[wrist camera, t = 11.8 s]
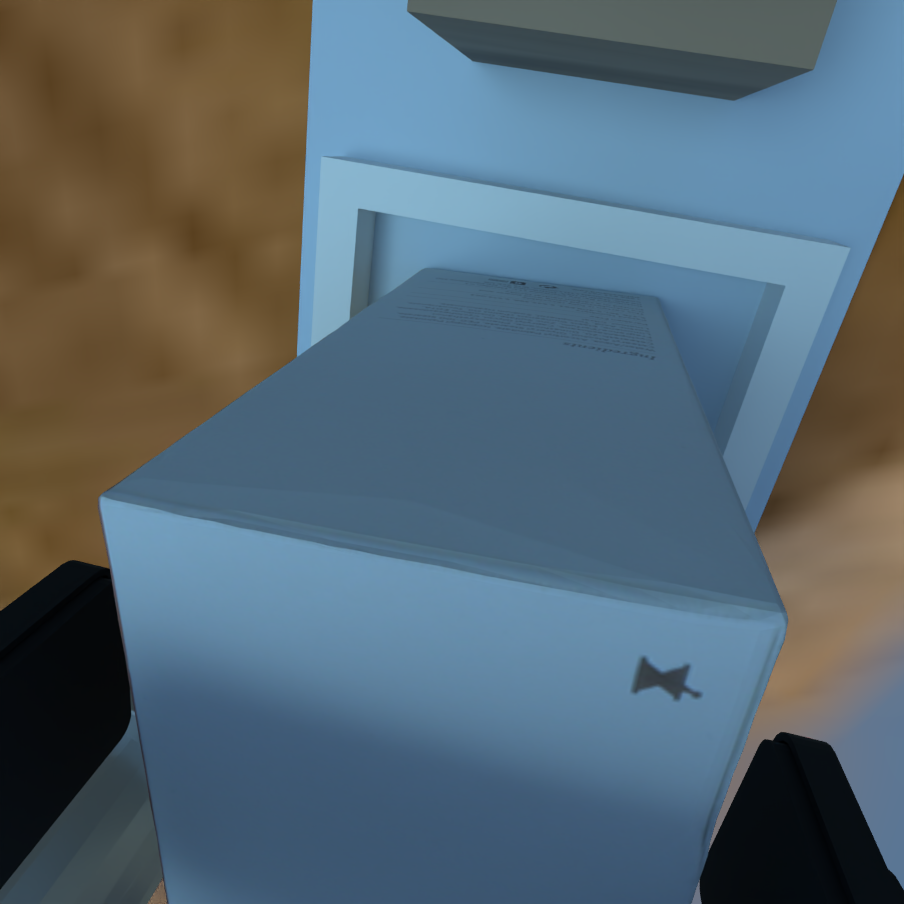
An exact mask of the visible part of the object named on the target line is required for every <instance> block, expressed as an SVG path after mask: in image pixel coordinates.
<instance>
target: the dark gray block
mask: <svg viewBox="0 0 904 904" xmlns="http://www.w3.org/2000/svg"><path fill="white" fill-rule="evenodd" d="M836 2H837V0H408V4H407V12H409V13H410V14H411V15H412V16H414V17H415V18H416V19H418V20H419V21H420V22H422V23H423V24H424V25H426V26H427V27H428V28H430V29H431V30H432V31H434V32H435V33H436V34H437V35H439V36H440V37H441V38H443V39H444V40H445V41H447V42H448V43H449V44H451V45H452V46H453V47H455V48H456V49H457V50H459V51H460V52H461V53H462V54H464V55H465V56H466V57H468V58H469V59H470V60H472V61H474V62H480V63H487V64H494V65H500V66H507V67H513V68H520V69H527V70H533V71H540V72H547V73H553V74H560V75H566V76H573V77H580V78H586V79H593V80H600V81H606V82H613V83H619V84H626V85H633V86H639V87H646V88H652V89H659V90H666V91H672V92H679V93H686V94H692V95H699V96H705V97H712V98H719V99H725V100H732V101H735V100H737V99H740V98H742V97H745V96H748V95H750V94H753V93H755V92H758V91H760V90H763V89H766V88H768V87H771V86H773V85H776V84H778V83H781V82H783V81H786V80H789V79H791V78H794V77H796V76H799V75H801V74H804V73H807V72H809V71H812V70H814V67H815V65H816V62H817V59H818V56H819V53H820V50H821V47H822V44H823V41H824V38H825V35H826V32H827V29H828V26H829V23H830V20H831V17H832V14H833V11H834V8H835V5H836Z"/></svg>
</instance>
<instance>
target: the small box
mask: <svg viewBox="0 0 904 904" xmlns="http://www.w3.org/2000/svg"><path fill="white" fill-rule="evenodd" d="M98 510H99V515H100V520H101V525H102V530H103V535H104V540H105V545H106V550H107V556H108V561H109V566H110V572H111V578H112V585H113V591H114V597H115V603H116V609H117V615H118V621H119V627H120V632H121V637H122V643H123V648H124V653H125V659H126V666H127V672H128V679H129V685H130V690H131V696H132V701H133V706H134V712H135V717H136V723H137V728H138V734H139V740H140V746H141V752H142V758H143V764H144V769H145V775H146V781H147V787H148V793H149V800H150V805H151V811H152V816H153V821H154V826H155V831H156V836H157V842H158V850H159V857H160V863H161V869H162V874H163V880H164V886H165V892H166V898H167V904H691V903H692V900H693V897H694V893H695V890H696V887H697V884H698V882H699V879H700V876H701V874H702V871H703V868H704V865H705V862H706V859H707V856H708V850H709V845H710V840H711V837H712V834H713V830H714V827H715V823H716V820H717V817H718V815H719V812H720V809H721V806H722V804H723V802H724V799H725V796H726V793H727V790H728V788H729V785H730V782H731V779H732V776H733V773H734V771H735V768H736V766H737V764H738V761H739V759H740V756H741V754H742V751H743V749H744V746H745V743H746V740H747V737H748V734H749V731H750V728H751V725H752V722H753V719H754V716H755V713H756V711H757V708H758V706H759V703H760V701H761V698H762V696H763V694H764V691H765V689H766V686H767V683H768V681H769V678H770V675H771V673H772V670H773V667H774V664H775V662H776V659H777V657H778V654H779V652H780V650H781V647H782V645H783V642H784V640H785V635H786V629H787V624H788V617H787V613H786V610H785V608H784V605H783V603H782V600H781V598H780V595H779V593H778V591H777V588H776V586H775V583H774V581H773V578H772V576H771V574H770V571H769V569H768V566H767V564H766V561H765V559H764V556H763V554H762V551H761V549H760V546H759V544H758V542H757V539H756V537H755V534H754V532H753V529H752V527H751V525H750V522H749V520H748V517H747V515H746V512H745V510H744V508H743V505H742V503H741V500H740V498H739V495H738V493H737V491H736V488H735V486H734V483H733V481H732V478H731V476H730V473H729V471H728V469H727V466H726V464H725V461H724V459H723V456H722V454H721V451H720V449H719V446H718V444H717V441H716V439H715V437H714V434H713V432H712V429H711V427H710V424H709V422H708V420H707V417H706V415H705V412H704V410H703V407H702V405H701V403H700V400H699V398H698V395H697V393H696V390H695V387H694V385H693V382H692V380H691V378H690V376H689V374H688V371H687V369H686V366H685V364H684V362H683V359H682V357H681V354H680V352H679V350H678V347H677V345H676V342H675V340H674V337H673V335H672V332H671V329H670V327H669V323H668V320H667V318H666V316H665V314H664V311H663V308H662V306H661V302H660V300H659V298H657V297H652V296H644V295H634V294H628V293H619V292H610V291H602V290H595V289H588V288H578V287H570V286H562V285H553V284H546V283H538V282H531V281H523V280H515V279H508V278H500V277H493V276H486V275H478V274H471V273H463V272H455V271H447V270H440V269H432V268H424V269H422V270H420V271H419V272H418V273H416V274H415V275H413V276H412V277H411V278H409V279H408V280H406V281H405V282H403V283H402V284H401V285H399V286H398V287H396V288H395V289H394V290H392V291H391V292H389V293H387V294H386V295H384V296H383V297H381V298H380V299H378V300H377V301H375V302H374V303H372V304H371V305H370V306H368V307H367V308H365V309H364V310H362V311H361V312H360V313H358V314H357V315H355V316H354V317H353V318H351V319H350V320H349V321H347V322H346V323H344V324H343V325H342V326H340V327H339V328H338V329H336V330H335V331H333V332H332V333H330V334H329V335H327V336H326V337H325V338H323V339H322V340H320V341H319V342H318V343H316V344H314V345H313V346H312V347H310V348H309V349H307V350H306V351H305V352H303V353H302V354H301V355H299V356H298V357H296V358H295V359H294V360H292V361H291V362H289V363H288V364H287V365H285V366H284V367H282V368H281V369H280V370H278V371H277V372H275V373H274V374H272V375H271V376H270V377H268V378H267V379H265V380H264V381H262V382H261V383H259V384H258V385H257V386H255V387H254V388H252V389H251V390H249V391H248V392H246V393H245V394H243V395H242V396H241V397H239V398H238V399H236V400H235V401H234V402H232V403H231V404H229V405H228V406H226V407H225V408H224V409H222V410H221V411H219V412H218V413H217V414H215V415H214V416H213V417H211V418H210V419H209V420H207V421H206V422H204V423H203V424H201V425H200V426H198V427H197V428H195V429H194V430H193V431H191V432H190V433H188V434H187V435H185V436H184V437H182V438H181V439H179V440H178V441H177V442H175V443H174V444H173V445H171V446H170V447H169V448H167V449H166V450H165V451H163V452H162V453H160V454H159V455H157V456H156V457H154V458H153V459H151V460H150V461H148V462H147V463H146V464H144V465H143V466H141V467H140V468H138V469H137V470H136V471H134V472H133V473H131V474H130V475H129V476H127V477H126V478H124V479H123V480H122V481H120V482H119V483H117V484H116V485H114V486H113V487H111V488H110V489H108V490H107V491H105V492H104V493H102V494H101V495H100V497H99V498H98Z"/></svg>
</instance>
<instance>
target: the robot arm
mask: <svg viewBox="0 0 904 904" xmlns="http://www.w3.org/2000/svg"><path fill="white" fill-rule="evenodd" d="M162 878H163V874H162V869H161V863H160V857H159V850H158V842H157V836H156V831H155V826H154V821H153V816H152V811H151V805H150V800H149V793H148V787H147V781H146V775H145V769H144V764H143V758H142V752H141V746H140V740H139V734H138V728H137V723H136V717H135V712H134V706H133V701H132V696H131V690H130V685H129V679H128V672H127V666H126V659H125V653H124V648H123V643H122V637H121V632H120V627H119V621H118V615H117V609H116V603H115V597H114V591H113V585H112V578H111V572H110V569H108V568H105V567H101V566H96V565H92V564H88V563H84V562H80V561H76V560H72V561H68V562H66V563H64V564H62V565H61V566H60V567H58V568H57V569H56V570H54V571H53V572H52V573H50V574H49V575H48V576H46V577H45V578H44V579H42V580H41V581H40V582H38V583H37V584H36V585H34V586H33V587H32V588H30V589H29V590H28V591H27V592H25V593H24V594H23V595H21V596H20V597H19V598H17V599H16V600H15V601H13V602H12V603H11V604H9V605H8V606H7V607H5V608H4V609H3V610H1V611H0V904H147V903H148V902H149V900H150V898H151V897H152V895H153V893H154V892H155V890H156V888H157V887H158V885H159V883H160V882H161V880H162ZM700 896H701V902H702V904H904V890H903V888H902V887H901V885H900V883H899V881H898V880H897V879H896V876H895V875H894V874H893V873H892V872H891V871H890V870H888V868H887V866H886V864H885V862H884V859H883V857H882V855H881V853H880V851H879V848H878V846H877V844H876V842H875V840H874V837H873V835H872V833H871V831H870V828H869V826H868V824H867V822H866V820H865V818H864V815H863V813H862V811H861V809H860V806H859V804H858V802H857V800H856V798H855V795H854V793H853V791H852V789H851V787H850V784H849V782H848V780H847V778H846V776H845V773H844V771H843V769H842V767H841V764H840V762H839V760H838V758H837V756H836V753H835V752H834V750H833V748H832V747H831V746H830V745H829V744H828V743H826V742H823V741H819V740H815V739H811V738H806V737H802V736H798V735H794V734H790V733H786V732H780V733H779V734H777V735H776V737H775V738H774V740H773V741H771V740H766V739H765V740H763V741H762V742H761V744H760V745H759V747H758V749H757V751H756V753H755V756H754V758H753V760H752V762H751V764H750V766H749V768H748V770H747V772H746V774H745V777H744V779H743V781H742V783H741V785H740V787H739V789H738V791H737V793H736V795H735V797H734V800H733V802H732V804H731V806H730V808H729V810H728V812H727V815H726V816H725V819H724V821H723V823H722V825H721V827H720V829H719V831H718V833H717V835H716V838H715V840H714V842H713V844H712V846H711V848H710V850H709V852H708V856H707V859H706V862H705V865H704V868H703V871H702V874H701V876H700Z"/></svg>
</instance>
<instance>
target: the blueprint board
mask: <svg viewBox="0 0 904 904" xmlns="http://www.w3.org/2000/svg"><path fill="white" fill-rule="evenodd" d="M407 4H408V0H313V12H312V34H311V56H310V78H309V101H308V123H307V145H306V167H305V189H304V212H303V234H302V256H301V278H300V301H299V323H298V345H297V357H298V356H299V355H301V354H302V353H303V352H305V351H306V350H307V349H309V348H310V347H312V346H313V345H314V344H316V343H318V342H319V341H320V340H322V339H323V338H325V337H326V336H327V335H329V334H330V333H332V332H333V331H335V330H336V329H338V328H339V327H340V326H342V325H343V324H344V323H346V322H347V321H349V320H350V319H351V318H353V317H354V316H355V315H357V314H358V313H360V312H361V311H362V310H364V309H365V308H367V307H368V306H370V305H371V304H372V303H374V302H375V301H377V300H378V299H380V298H381V297H383V296H384V295H386V294H387V293H389V292H391V291H392V290H394V289H395V288H396V287H398V286H399V285H401V284H402V283H403V282H405V281H406V280H408V279H409V278H411V277H412V276H413V275H415V274H416V273H418V272H419V271H420V270H422V269H424V268H432V269H440V270H447V271H455V272H463V273H471V274H478V275H486V276H493V277H500V278H508V279H515V280H523V281H531V282H538V283H546V284H553V285H562V286H570V287H578V288H588V289H595V290H602V291H610V292H619V293H628V294H634V295H644V296H652V297H657V298H659V300H660V302H661V306H662V308H663V311H664V314H665V316H666V318H667V320H668V323H669V327H670V329H671V332H672V335H673V337H674V340H675V342H676V345H677V347H678V350H679V352H680V354H681V357H682V359H683V362H684V364H685V366H686V369H687V371H688V374H689V376H690V378H691V380H692V382H693V385H694V387H695V390H696V393H697V395H698V398H699V400H700V403H701V405H702V407H703V410H704V412H705V415H706V417H707V420H708V422H709V424H710V427H711V429H712V432H713V434H714V437H715V439H716V441H717V444H718V446H719V449H720V451H721V454H722V456H723V459H724V461H725V464H726V466H727V469H728V471H729V473H730V476H731V478H732V481H733V483H734V486H735V488H736V491H737V493H738V495H739V498H740V500H741V503H742V505H743V508H744V510H745V512H746V515H747V517H748V520H749V522H750V525H751V527H752V529H753V532H755V530H756V528H757V525H758V523H759V520H760V518H761V516H762V513H763V511H764V508H765V506H766V504H767V501H768V499H769V496H770V494H771V492H772V489H773V487H774V484H775V482H776V480H777V477H778V475H779V472H780V470H781V468H782V465H783V463H784V460H785V458H786V456H787V453H788V451H789V448H790V446H791V443H792V441H793V439H794V436H795V434H796V431H797V429H798V427H799V424H800V422H801V419H802V417H803V415H804V412H805V410H806V407H807V405H808V403H809V400H810V398H811V395H812V393H813V391H814V388H815V386H816V383H817V381H818V379H819V376H820V374H821V371H822V369H823V367H824V364H825V362H826V359H827V357H828V354H829V352H830V350H831V347H832V345H833V342H834V340H835V338H836V335H837V333H838V330H839V328H840V326H841V323H842V321H843V318H844V316H845V314H846V311H847V309H848V306H849V304H850V302H851V299H852V297H853V294H854V292H855V290H856V287H857V285H858V282H859V280H860V278H861V275H862V273H863V270H864V268H865V266H866V263H867V261H868V258H869V256H870V253H871V251H872V249H873V246H874V244H875V241H876V239H877V237H878V234H879V232H880V229H881V227H882V225H883V222H884V220H885V217H886V215H887V213H888V210H889V208H890V205H891V203H892V201H893V198H894V196H895V193H896V191H897V189H898V186H899V184H900V181H901V179H902V177H903V174H904V0H837V2H836V5H835V8H834V11H833V14H832V17H831V20H830V23H829V26H828V29H827V32H826V35H825V38H824V41H823V44H822V47H821V50H820V53H819V56H818V59H817V62H816V65H815V67H814V70H812V71H809V72H807V73H804V74H801V75H799V76H796V77H794V78H791V79H789V80H786V81H783V82H781V83H778V84H776V85H773V86H771V87H768V88H766V89H763V90H760V91H758V92H755V93H753V94H750V95H748V96H745V97H742V98H740V99H737V100H735V101H732V100H725V99H719V98H712V97H705V96H699V95H692V94H686V93H679V92H672V91H666V90H659V89H652V88H646V87H639V86H633V85H626V84H619V83H613V82H606V81H600V80H593V79H586V78H580V77H573V76H566V75H560V74H553V73H547V72H540V71H533V70H527V69H520V68H513V67H507V66H500V65H494V64H487V63H480V62H474V61H472V60H470V59H469V58H468V57H466V56H465V55H464V54H462V53H461V52H460V51H459V50H457V49H456V48H455V47H453V46H452V45H451V44H449V43H448V42H447V41H445V40H444V39H443V38H441V37H440V36H439V35H437V34H436V33H435V32H434V31H432V30H431V29H430V28H428V27H427V26H426V25H424V24H423V23H422V22H420V21H419V20H418V19H416V18H415V17H414V16H412V15H411V14H410V13H409V12H407Z"/></svg>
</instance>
